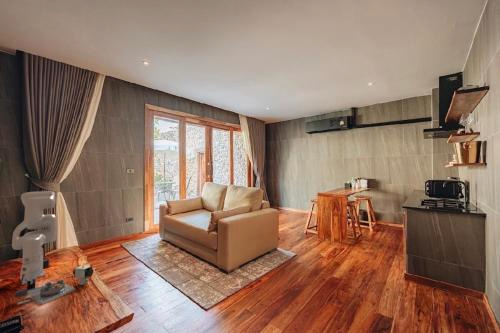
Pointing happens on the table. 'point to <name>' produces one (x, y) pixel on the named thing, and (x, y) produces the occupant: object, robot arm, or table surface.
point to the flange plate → (45, 299)
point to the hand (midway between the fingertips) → (31, 290)
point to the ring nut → (43, 289)
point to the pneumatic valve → (83, 273)
